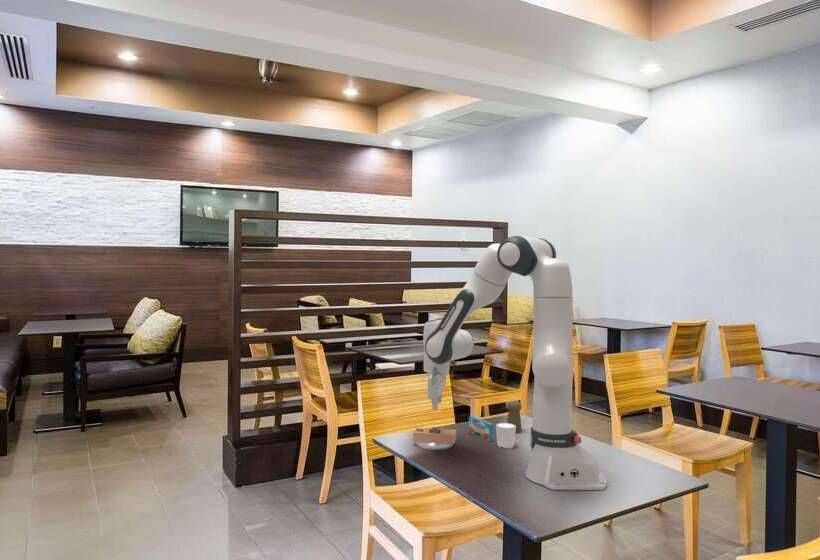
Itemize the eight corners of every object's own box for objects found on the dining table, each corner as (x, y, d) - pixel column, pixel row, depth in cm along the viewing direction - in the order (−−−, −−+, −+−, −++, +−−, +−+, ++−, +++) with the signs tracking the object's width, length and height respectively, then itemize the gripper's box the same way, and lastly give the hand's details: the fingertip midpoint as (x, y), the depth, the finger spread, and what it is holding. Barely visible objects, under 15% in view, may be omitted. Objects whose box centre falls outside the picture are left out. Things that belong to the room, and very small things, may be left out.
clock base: (455, 439, 197) (455, 424, 197) (451, 451, 185) (452, 435, 185) (418, 437, 200) (419, 422, 200) (412, 449, 187) (413, 432, 187)
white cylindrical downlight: (511, 450, 187) (511, 429, 187) (492, 446, 191) (492, 426, 191) (518, 444, 193) (519, 424, 193) (500, 441, 197) (500, 421, 197)
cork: (523, 433, 206) (523, 403, 206) (506, 433, 206) (507, 403, 206) (520, 428, 212) (521, 399, 212) (504, 428, 212) (505, 399, 212)
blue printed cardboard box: (492, 441, 197) (492, 423, 197) (489, 441, 196) (489, 424, 196) (471, 432, 207) (471, 415, 207) (468, 432, 206) (468, 416, 206)
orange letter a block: (456, 438, 194) (456, 430, 194) (454, 444, 188) (454, 435, 188) (416, 436, 196) (416, 427, 196) (413, 441, 190) (413, 432, 190)
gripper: (442, 371, 181) (442, 414, 181) (448, 361, 201) (449, 399, 201) (422, 371, 182) (423, 413, 182) (431, 361, 202) (432, 399, 202)
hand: (437, 406), depth 192 cm, fingers open, 8 cm apart
